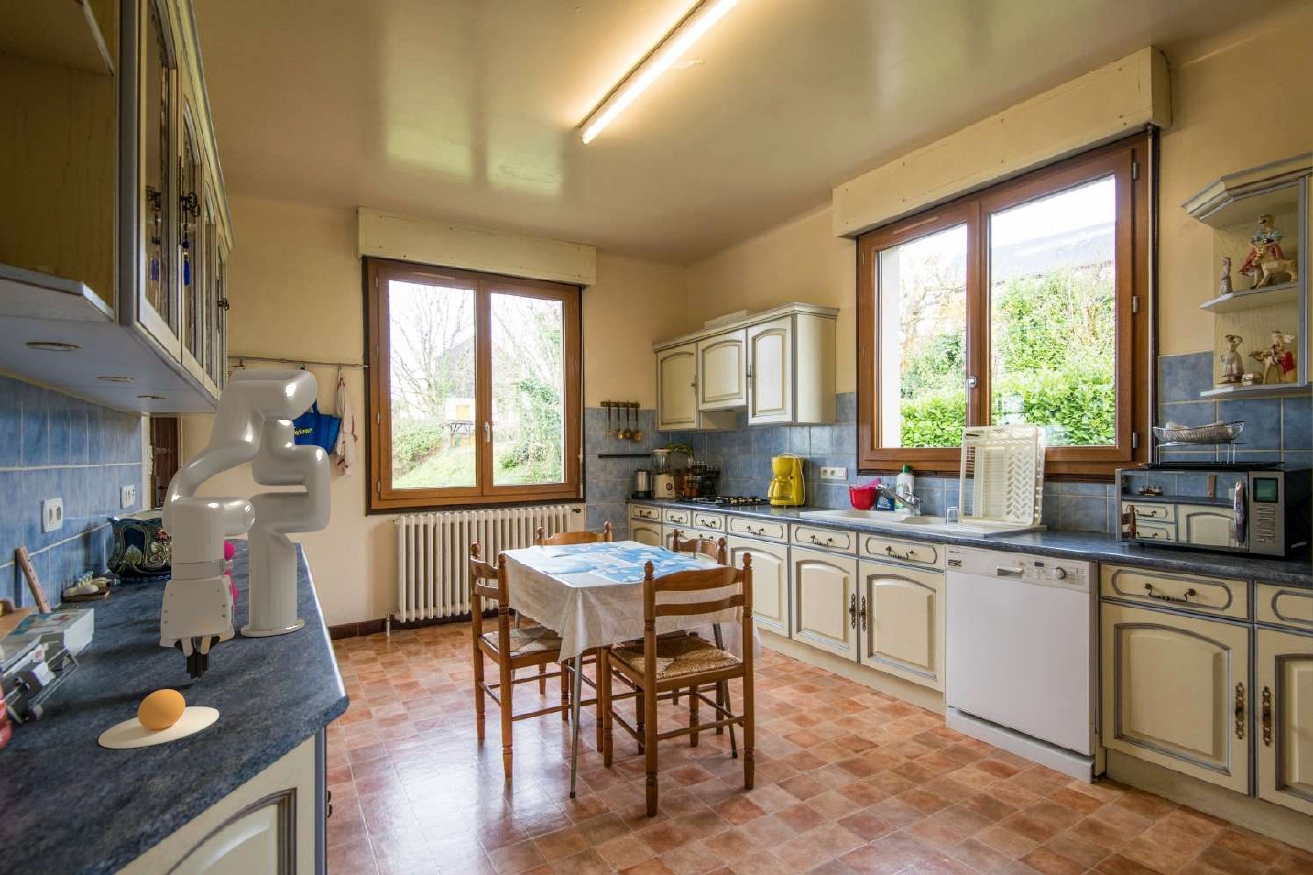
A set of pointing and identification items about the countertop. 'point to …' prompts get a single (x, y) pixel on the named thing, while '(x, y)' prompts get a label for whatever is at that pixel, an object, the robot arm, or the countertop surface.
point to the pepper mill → (228, 554)
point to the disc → (140, 736)
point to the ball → (161, 709)
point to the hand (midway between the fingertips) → (198, 675)
